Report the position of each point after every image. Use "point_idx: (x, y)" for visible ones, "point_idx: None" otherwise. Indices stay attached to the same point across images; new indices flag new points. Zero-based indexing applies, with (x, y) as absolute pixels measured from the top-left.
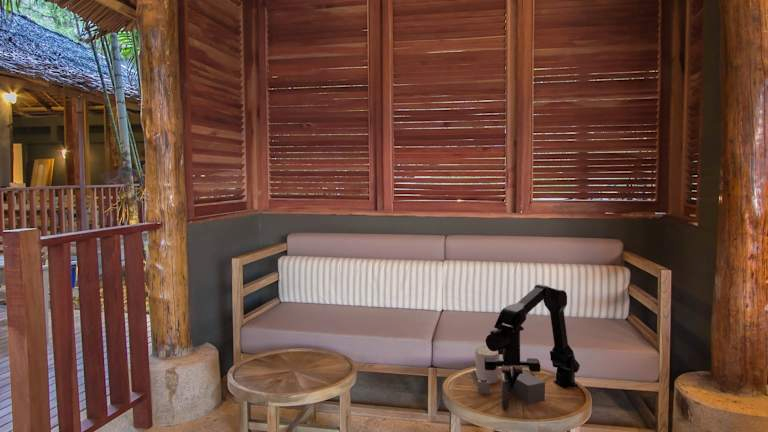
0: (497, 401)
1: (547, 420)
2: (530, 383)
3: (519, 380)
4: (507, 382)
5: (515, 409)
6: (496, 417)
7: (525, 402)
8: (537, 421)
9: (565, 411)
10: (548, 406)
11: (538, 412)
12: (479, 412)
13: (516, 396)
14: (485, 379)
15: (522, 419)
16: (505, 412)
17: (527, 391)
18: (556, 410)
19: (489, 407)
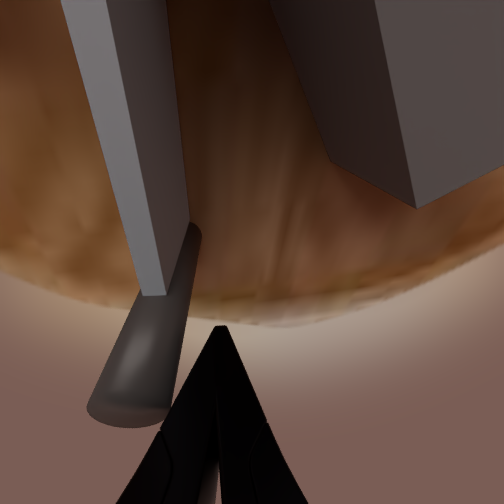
0: None
1: (362, 302)
2: (485, 134)
3: (380, 7)
4: (164, 415)
5: (244, 231)
6: None
7: (323, 138)
8: (320, 314)
9: (492, 217)
10: None
11: (354, 245)
12: (57, 286)
13: (278, 18)
14: None
15: (264, 310)
16: None
17: (374, 178)
18: (455, 213)
19: (93, 228)
